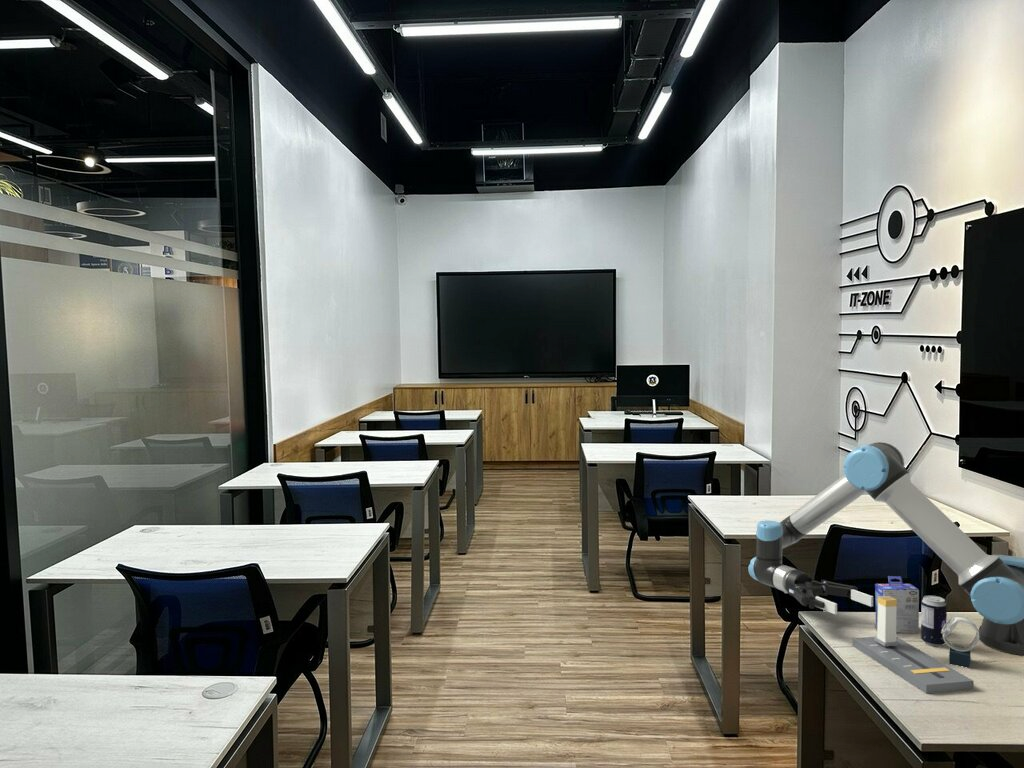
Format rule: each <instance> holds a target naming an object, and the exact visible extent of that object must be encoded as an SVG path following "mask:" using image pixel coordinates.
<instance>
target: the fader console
mask: <svg viewBox="0 0 1024 768" xmlns="http://www.w3.org/2000/svg"><path fill="white" fill-rule="evenodd" d="M874 637H875V636H867V637H865V636H863V637H853V638H852V647H854V648H855V649H857V650H858V651H860V652H862V653H863V654H865V655H866V656H867V657H869V658H871V659H872V660H874V661H876V662H877V663H879V664H880V665H881V666H883V667H884V666H885V667H884V668H886V669H887V668H888V669H887V670H889V671H891V673H892V672H893V673H894V674H895V675H897V676H898V677H900V678H902V679H903V680H904V681H906V682H907V683H909V684H911V685H912V686H914V687H916V688H917V689H918V690H920V691H922V692H923V693H925V694H936V693H937V694H939V693H948V692H957V691H958V692H959V691H970V690H974V686H975V685H974V680H973V679H971V678H969V677H968V676H966V675H964V674H962V673H961V672H959V671H958V670H956V669H953V668H952V667H951V666H948V665H947V664H946V663H943V662H942V661H940V660H938V659H937V658H935V657H933V656H931V655H929V654H927V653H926V652H924V651H922V650H920V649H919V648H917V647H915V646H914V645H912V644H911V643H908V642H907V641H905V640H903V639H901V638H900V637H898V636H896V641H898V642H899V645H898V646H883V645H881V644H880V643H878V642H877V641H875V640H874Z"/></svg>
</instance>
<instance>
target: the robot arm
mask: <svg viewBox="0 0 1024 768" xmlns="http://www.w3.org/2000/svg"><path fill="white" fill-rule="evenodd" d="M843 473H844V474H843V475H841V477H840V478H838V479H836V480H835V481H834V482H832V483H831V484H829V486H826V488H824V489H822V491H820V492H819V493H818V494H817V495H815V496H814V497H812V498H811V499H809V500H808V501H807V502H805V503H804V504H803V505H802V506H801V507H799V508H798V509H796V510H795V511H793V512H792V513H791V514H789V516H787V517H785V518H784V519H782V521H779V522H778V521H776V520H768V519H767V520H760V521H758V523H757V524H756V534H755V535H756V555H755V556H754V557H753V558H752V559H750V561H749V562H750V563H749V565H748V574H749V575H750V577H751V578H752V579H753V580H755V581H758V582H759V583H760V584H763V585H766V586H769V587H771V588H775V589H777V590H779V591H781V592H783V593H784V594H789V595H790V596H791V597H793V598H794V599H795V600H797V602H798V603H800V605H802V606H804V607H809V609H811V610H812V609H815V607H816V608H818V609H821V610H824V611H826V612H828V613H831V614H833V615H837V614H838V603H836V602H834V601H831V600H828V599H826V598H823V597H827V596H835V597H844V598H850V599H851V600H852V601H855V602H858V603H860V604H862V605H866V606H868V607H871V608H872V607H874V596H873V595H870V594H867V593H864V592H861V591H858V587H857V586H855V585H848V584H843V583H837V582H834V581H829V580H825V579H821V580H820V581H821V582H820V581H818V580H813V579H812V577H811V575H810V574H809V573H807V572H804V571H802V570H799V569H796V568H794V567H792V566H788V565H784V564H783V549H786V548H788V547H790V546H792V545H794V544H796V543H798V542H800V541H801V540H802V539H803V538H804V537H805V536H806V535H808V534H809V533H811V532H812V531H813V530H815V529H816V528H818V527H820V525H822V524H823V523H825V522H826V521H827V520H829V519H831V518H832V517H833V516H834V515H836V514H837V513H838V512H840V511H841V510H843V509H844V508H846V507H847V506H849V505H850V504H852V503H853V502H854V501H856V500H857V499H858V498H860V497H862V496H863V495H864V494H866V493H867V494H868V495H869V496H870V497H871V498H872V499H873V500H874V501H875V502H881V503H885V504H886V505H887V507H888V508H890V509H891V510H892V511H893V512H894V513H895V514H896V515H897V516H898V517H899V518H900V519H901V520H902V521H903V522H904V523H905V524H906V526H908V527H909V528H910V529H911V530H912V532H914V533H915V534H916V535H917V536H918V537H919V538H920V539H921V540H922V541H923V542H925V545H927V546H928V547H929V548H930V549H931V550H932V551H933V552H934V553H935V554H936V555H937V556H938V557H939V558H940V559H941V560H942V561H943V562H944V563H946V565H947V566H948V567H949V568H950V569H951V570H952V571H953V572H954V573H956V575H957V577H958V585H959V586H960V588H962V590H963V591H964V592H966V593H967V594H968V595H969V596H970V599H971V600H970V601H971V604H972V606H973V608H974V609H975V611H976V612H977V613H978V614H979V615H980V616H982V617H983V619H982V621H981V624H980V625H979V627H978V631H979V636H980V638H979V641H980V642H981V643H982V644H983V645H986V646H988V647H990V648H992V649H995V650H997V651H1000V652H1005V653H1008V654H1014V655H1019V656H1024V557H1018V556H1013V555H1007V554H1006V555H1004V554H991V555H990V554H987V553H986V552H985V551H984V550H983V549H981V547H980V546H978V545H977V544H976V543H975V542H974V541H973V539H971V538H970V537H969V536H968V535H967V534H966V533H965V532H964V531H963V530H962V529H961V528H960V527H959V526H958V525H957V524H956V523H954V522H953V520H951V519H950V518H949V517H948V516H947V515H946V514H945V513H944V512H943V511H942V510H941V509H940V508H939V507H938V506H937V505H936V504H935V503H933V501H931V500H930V498H928V497H927V496H926V495H925V494H924V493H923V492H922V491H921V490H920V489H919V488H918V487H917V486H916V485H915V484H914V483H913V482H912V480H911V473H910V472H909V471H908V469H906V468H905V459H904V456H903V454H902V453H901V451H900V450H899V449H898V448H897V447H896V446H894V445H893V444H890V443H887V442H878V441H877V442H873V443H870V444H866V445H860V446H858V447H856V448H855V449H853V450H851V451H850V452H849V453H848V454H847V455H846V457H845V459H844V462H843ZM820 596H823V597H820Z"/></svg>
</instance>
